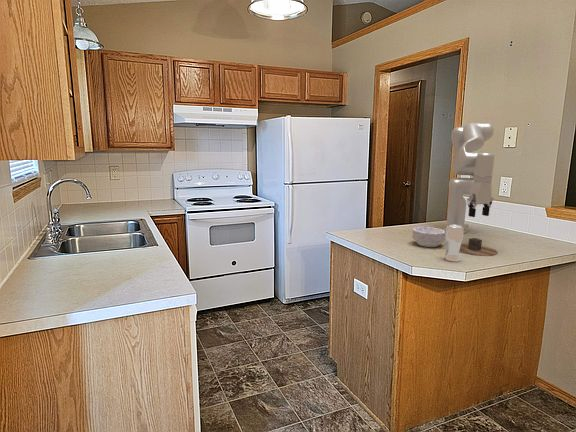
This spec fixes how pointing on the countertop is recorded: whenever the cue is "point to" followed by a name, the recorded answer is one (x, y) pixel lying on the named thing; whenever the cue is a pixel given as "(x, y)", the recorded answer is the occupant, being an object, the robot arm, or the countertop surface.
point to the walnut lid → (477, 248)
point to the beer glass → (453, 242)
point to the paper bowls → (428, 236)
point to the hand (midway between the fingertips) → (478, 216)
